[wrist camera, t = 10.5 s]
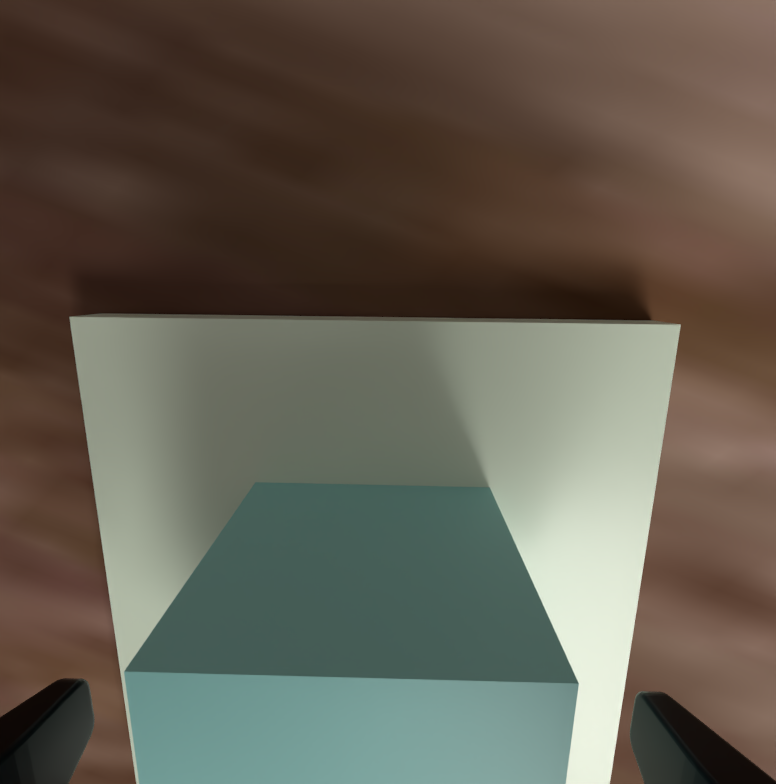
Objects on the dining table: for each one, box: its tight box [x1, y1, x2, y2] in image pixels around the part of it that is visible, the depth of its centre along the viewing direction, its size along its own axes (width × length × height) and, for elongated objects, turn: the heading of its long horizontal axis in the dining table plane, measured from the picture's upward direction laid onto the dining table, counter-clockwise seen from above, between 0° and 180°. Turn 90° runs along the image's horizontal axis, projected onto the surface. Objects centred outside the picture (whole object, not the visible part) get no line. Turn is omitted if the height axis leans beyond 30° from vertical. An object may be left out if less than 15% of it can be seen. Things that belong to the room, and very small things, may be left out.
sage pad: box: [69, 313, 681, 784], centre depth 11 cm, size 12×12×1 cm
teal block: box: [124, 482, 579, 784], centre depth 8 cm, size 5×5×5 cm
